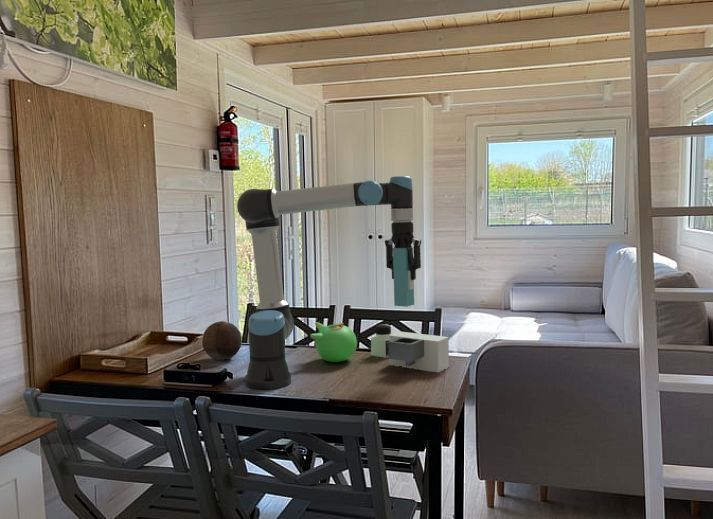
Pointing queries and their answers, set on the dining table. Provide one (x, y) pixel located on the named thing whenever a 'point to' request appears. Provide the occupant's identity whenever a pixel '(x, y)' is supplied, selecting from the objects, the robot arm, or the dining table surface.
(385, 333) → the medicine bottle
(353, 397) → the dining table surface
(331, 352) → the green round body
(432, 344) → the stand
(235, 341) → the wooden sphere
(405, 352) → the box
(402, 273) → the rail post
